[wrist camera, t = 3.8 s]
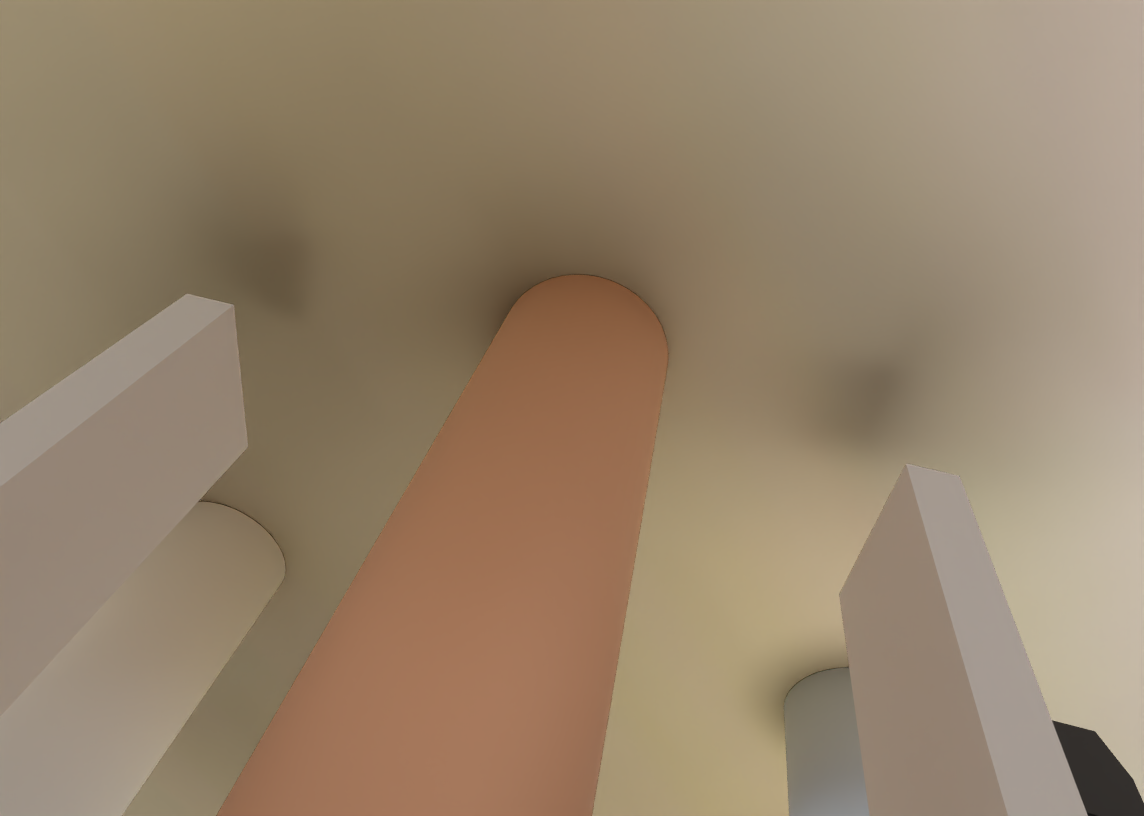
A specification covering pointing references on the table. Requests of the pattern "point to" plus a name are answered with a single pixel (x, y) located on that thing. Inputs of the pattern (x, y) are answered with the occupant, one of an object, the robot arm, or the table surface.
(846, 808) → the pin short
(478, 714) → the pin long
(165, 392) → the robot arm
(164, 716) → the pin medium
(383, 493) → the table surface
